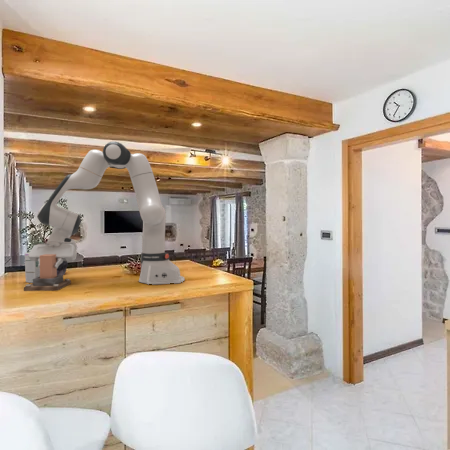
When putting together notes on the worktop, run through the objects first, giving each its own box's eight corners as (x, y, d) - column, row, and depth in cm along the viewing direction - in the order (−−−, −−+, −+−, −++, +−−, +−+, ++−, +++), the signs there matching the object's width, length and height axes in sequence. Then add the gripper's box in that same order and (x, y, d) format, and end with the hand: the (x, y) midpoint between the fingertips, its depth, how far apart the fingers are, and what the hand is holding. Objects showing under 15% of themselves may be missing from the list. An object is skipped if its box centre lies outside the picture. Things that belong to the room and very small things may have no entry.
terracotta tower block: (56, 280, 146) (56, 254, 146) (51, 282, 141) (51, 255, 141) (45, 280, 146) (45, 254, 146) (39, 282, 141) (39, 255, 141)
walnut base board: (70, 283, 151) (70, 274, 151) (57, 290, 137) (57, 280, 137) (40, 283, 150) (40, 274, 150) (23, 290, 136) (23, 280, 136)
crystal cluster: (33, 277, 168) (32, 259, 167) (52, 271, 181) (52, 254, 180) (54, 281, 165) (54, 262, 164) (72, 274, 178) (72, 256, 177)
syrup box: (35, 283, 152) (35, 252, 151) (24, 282, 153) (24, 252, 152) (44, 280, 157) (44, 251, 157) (34, 280, 158) (34, 250, 158)
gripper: (32, 239, 149) (20, 263, 140) (77, 239, 151) (68, 263, 141) (37, 247, 154) (26, 271, 144) (80, 248, 155) (72, 271, 146)
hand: (47, 267), depth 143 cm, fingers closed on terracotta tower block, 5 cm apart
